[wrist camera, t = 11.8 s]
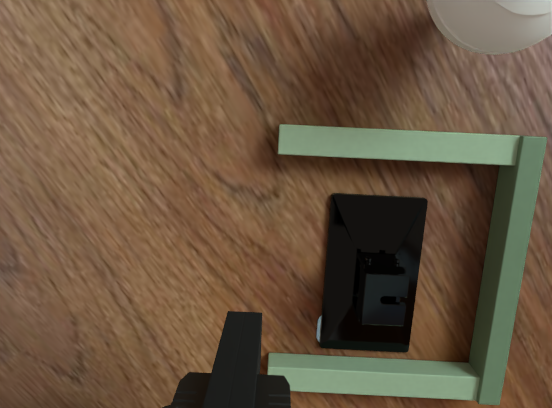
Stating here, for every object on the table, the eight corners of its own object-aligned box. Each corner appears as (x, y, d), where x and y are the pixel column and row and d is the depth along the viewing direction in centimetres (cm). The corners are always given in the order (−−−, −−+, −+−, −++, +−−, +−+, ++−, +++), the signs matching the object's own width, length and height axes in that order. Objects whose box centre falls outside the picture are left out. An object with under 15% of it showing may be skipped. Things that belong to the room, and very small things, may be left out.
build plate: (406, 349, 33) (426, 387, 28) (315, 344, 33) (320, 381, 28) (426, 197, 30) (452, 212, 26) (327, 192, 30) (335, 206, 26)
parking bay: (279, 123, 29) (279, 124, 27) (526, 135, 29) (547, 137, 27) (267, 374, 33) (266, 393, 31) (484, 385, 33) (499, 405, 31)
